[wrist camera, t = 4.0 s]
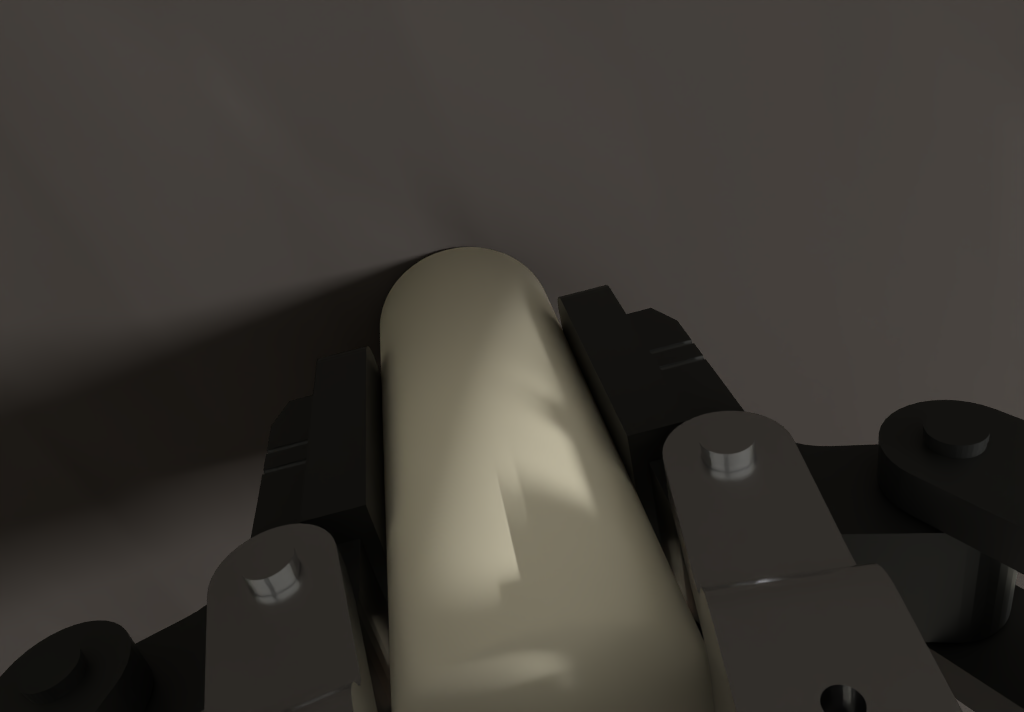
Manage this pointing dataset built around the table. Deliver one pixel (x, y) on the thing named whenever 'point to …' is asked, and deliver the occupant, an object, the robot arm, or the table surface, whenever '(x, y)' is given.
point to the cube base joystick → (515, 514)
